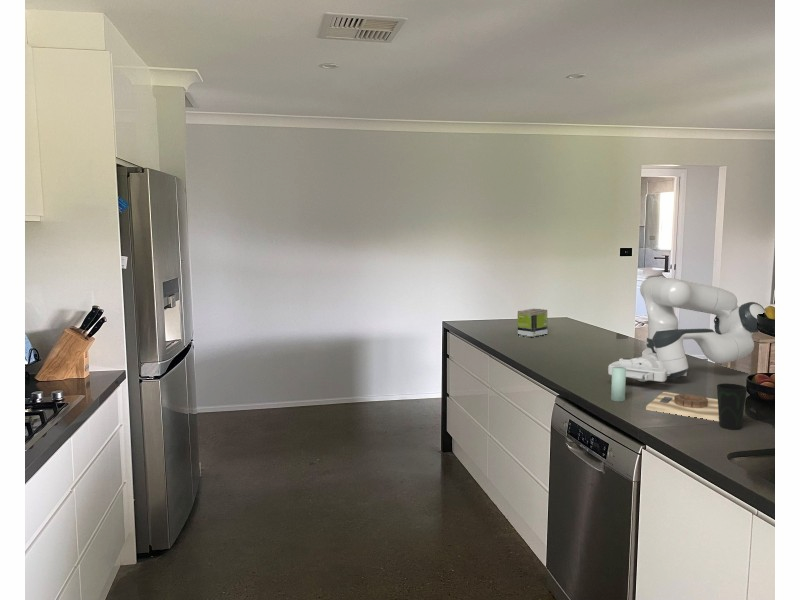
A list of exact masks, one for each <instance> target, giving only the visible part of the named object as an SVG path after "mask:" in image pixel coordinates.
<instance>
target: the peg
mask: <svg viewBox="0 0 800 600" xmlns="http://www.w3.org/2000/svg"><path fill="white" fill-rule="evenodd" d="M626 379H627V377H626V368H624V367H612V375H611V389H610V390H611V391H610V393H611V395H610V400H611V401H614V402H620V401H621V402H625V401H626V381H627V380H626Z"/></svg>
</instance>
